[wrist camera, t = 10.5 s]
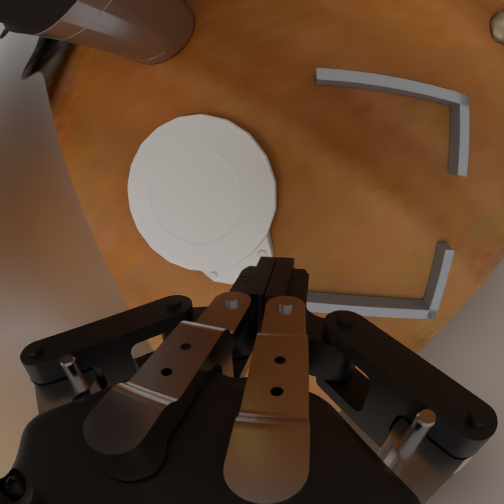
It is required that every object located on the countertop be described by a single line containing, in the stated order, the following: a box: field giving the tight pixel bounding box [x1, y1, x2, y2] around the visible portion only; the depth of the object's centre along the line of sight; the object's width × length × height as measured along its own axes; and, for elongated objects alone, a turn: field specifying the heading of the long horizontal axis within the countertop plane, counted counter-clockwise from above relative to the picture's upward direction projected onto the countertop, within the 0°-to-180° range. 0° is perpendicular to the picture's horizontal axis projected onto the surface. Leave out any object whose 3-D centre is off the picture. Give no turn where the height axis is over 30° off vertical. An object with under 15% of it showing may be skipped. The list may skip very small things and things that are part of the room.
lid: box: [127, 114, 276, 284], centre depth 31 cm, size 17×20×3 cm
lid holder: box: [307, 68, 469, 319], centre depth 26 cm, size 25×16×2 cm, turn 0°
